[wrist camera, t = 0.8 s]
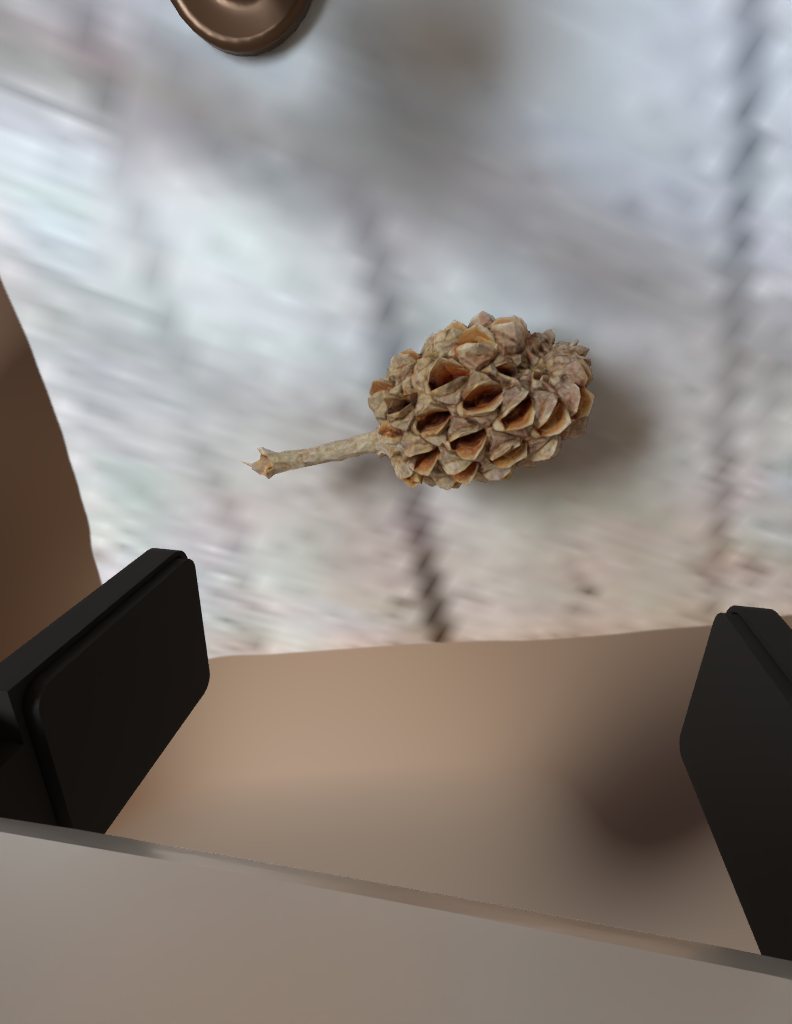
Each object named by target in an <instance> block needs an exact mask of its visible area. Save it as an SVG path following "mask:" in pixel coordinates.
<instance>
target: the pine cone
mask: <svg viewBox="0 0 792 1024" xmlns="http://www.w3.org/2000/svg"><path fill="white" fill-rule="evenodd" d="M554 341H555V334H554V332H553V330H552V329H551V330H547V331H545V332H544V333H543V334H540V333H536V332H535V333H533V334H532V335H531V334H530V331H527V325H526V323H525V322H524V321H523V320H522V318H519V317H517V316H513V317H505V318H498V319H495V318H494V317H493V316H492V315H490V314H488V313H486V312H484V311H482V312H480V313H479V314H477V315H476V316H475V317H473V318H472V319H471V322H470V324H469V326H468V327H466V326H465V325H464V324H463V323H461V322H458V321H456V320H454V321H453V322H452V323H451V324H450V325H449V326H448V327H447V328H446V329H444V330H443V331H439V332H438V333H437V334H434V333H432V334H431V335H430V336H429V337H428V339H427V340H426V342H425V344H424V346H423V348H422V351H421V353H420V354H417V353H416V352H415V351H413V350H412V349H409V350H406V351H404V352H401V353H400V354H399V355H394V357H393V358H392V359H391V363H390V368H388V369H387V374H386V380H381V379H378V380H375V381H373V382H372V384H371V388H370V395H371V396H370V397H369V398H368V404H369V407H370V408H371V409H372V410H373V412H374V413H375V417H376V419H377V421H378V424H377V425H378V426H377V429H376V431H373V432H369V433H366V434H362V435H358V436H355V437H352V438H350V439H345V440H339V441H335V442H331V443H328V444H325V445H321V446H318V447H313V448H309V449H303V450H293V451H284V452H281V453H276V452H273V451H270V450H268V449H265V448H263V447H261V448H257V449H258V450H259V452H260V453H261V459H260V460H259V461H257V462H255V463H253V464H250V463H245V462H243V463H245V464H247V465H249V466H251V467H252V470H254V471H256V472H257V473H258V474H261V475H265V476H266V477H267V478H268V479H269V478H271V477H272V476H273V475H275V474H277V473H281V472H285V471H288V470H292V469H297V468H302V467H307V466H312V465H317V464H321V463H326V462H331V461H342V460H344V459H347V458H349V457H357V456H360V455H363V454H367V453H377V454H378V456H379V457H380V458H382V457H384V456H386V455H387V456H388V457H389V458H390V460H391V461H392V462H391V465H392V466H393V467H394V470H395V473H396V476H397V477H398V478H400V479H403V481H404V482H405V483H406V484H407V485H408V486H409V487H410V488H413V487H415V486H417V485H418V484H422V481H423V482H424V483H425V484H427V485H429V486H431V487H433V486H435V485H438V486H439V487H440V488H443V489H446V490H449V489H451V488H459V487H460V485H461V484H462V483H463V484H467V485H469V484H470V482H471V481H472V479H475V480H478V481H481V482H487V481H488V480H509V479H510V477H511V475H512V472H513V470H514V468H515V466H522V467H532V468H536V466H537V465H538V463H539V462H540V460H541V461H546V460H548V459H551V458H553V457H556V456H557V455H558V453H559V451H560V449H561V440H565V439H566V438H579V437H580V436H581V435H582V434H583V433H585V430H586V425H587V420H588V415H589V413H590V410H591V407H592V404H593V401H594V398H595V395H593V394H592V393H591V392H590V391H588V390H587V389H586V387H587V386H588V384H589V383H590V382H591V381H592V379H593V376H592V370H591V368H590V366H591V359H589V358H586V357H585V356H586V354H587V352H588V350H589V349H588V348H586V347H583V346H581V345H577V343H578V341H579V340H576V341H574V342H571V343H566V342H559V343H557V344H554ZM576 345H577V346H576Z"/></svg>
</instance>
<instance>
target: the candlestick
mask: <svg viewBox="0 0 792 1024" xmlns="http://www.w3.org/2000/svg"><path fill="white" fill-rule="evenodd" d="M171 2H172V4H173V5H174V7H175V8H176V10H177V12H178V13H179V15H180V16H181V18H182V19H183V20H184V21H185V22H186V23H187V24H188V26H189V27H190V28H191V29H192V30H193V31H194V32H195V33H197V34H198V35H199V36H200V37H201V38H203V39H204V40H205V41H206V42H208V43H209V44H210V45H212V46H213V47H215V48H217V49H219V50H221V51H224V52H226V53H229V54H234V55H239V56H252V55H258V54H262V53H265V52H268V51H271V50H272V49H274V48H275V47H277V46H278V45H280V44H282V43H283V42H284V41H285V40H286V39H287V38H288V37H289V36H290V35H291V34H292V33H293V32H294V31H295V30H296V29H297V27H298V26H299V24H300V23H301V21H302V20H303V18H304V17H305V15H306V13H307V11H308V9H309V6H310V4H311V2H312V0H171Z"/></svg>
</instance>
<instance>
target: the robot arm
mask: <svg viewBox="0 0 792 1024" xmlns="http://www.w3.org/2000/svg"><path fill="white" fill-rule="evenodd" d="M209 678H210V672H209V664H208V657H207V649H206V642H205V635H204V627H203V620H202V613H201V605H200V598H199V591H198V583H197V576H196V569H195V564H194V562H193V561H192V560H191V559H188V558H187V556H186V554H185V553H184V552H183V551H179V550H169V549H159V548H151V549H149V550H147V551H146V552H145V553H144V554H142V555H141V556H140V557H138V558H137V559H136V560H134V561H133V562H132V563H130V564H129V565H128V566H126V567H125V568H124V569H123V570H121V571H120V572H119V573H117V574H116V575H115V576H113V577H112V578H111V579H109V580H108V581H107V582H105V583H104V584H103V585H102V586H100V587H99V588H98V589H96V590H95V591H94V592H92V593H91V594H90V595H88V596H87V597H86V598H84V599H83V600H82V601H81V602H79V603H78V604H77V605H75V606H74V607H73V608H71V609H70V610H69V611H67V612H66V613H65V614H63V615H62V616H61V617H60V618H58V619H57V620H56V621H54V622H53V623H52V624H50V625H49V626H48V627H47V628H45V629H44V630H42V631H41V632H40V633H39V634H37V635H36V636H35V637H33V638H32V639H31V640H29V641H28V642H27V643H25V644H24V645H23V646H21V647H20V648H19V649H17V650H16V651H15V652H14V653H12V654H11V655H10V656H8V657H7V658H6V659H5V660H3V661H2V662H0V1024H792V629H791V628H790V627H789V626H788V625H787V624H786V622H785V621H784V620H783V619H782V618H781V617H780V616H779V614H778V613H777V612H775V611H774V610H772V609H765V608H755V607H745V606H735V605H734V606H732V607H730V608H729V609H728V610H727V612H726V613H719V614H717V616H716V617H715V619H714V622H713V625H712V629H711V632H710V636H709V639H708V643H707V646H706V649H705V653H704V657H703V660H702V663H701V666H700V670H699V673H698V677H697V680H696V683H695V687H694V690H693V693H692V697H691V700H690V704H689V707H688V711H687V714H686V718H685V721H684V724H683V728H682V731H681V735H680V753H681V757H682V760H683V762H684V765H685V767H686V769H687V772H688V774H689V777H690V780H691V782H692V784H693V787H694V789H695V792H696V794H697V797H698V799H699V802H700V804H701V807H702V809H703V811H704V814H705V817H706V819H707V821H708V824H709V826H710V829H711V831H712V834H713V836H714V839H715V841H716V844H717V846H718V849H719V851H720V854H721V856H722V858H723V861H724V863H725V866H726V868H727V871H728V873H729V875H730V878H731V881H732V883H733V885H734V888H735V891H736V893H737V895H738V898H739V900H740V903H741V905H742V908H743V910H744V913H745V915H746V918H747V920H748V922H749V925H750V928H751V930H752V932H753V935H754V937H755V940H756V942H757V945H758V947H759V950H760V952H761V955H759V954H754V953H749V952H744V951H740V950H734V949H730V948H725V947H720V946H715V945H710V944H705V943H700V942H694V941H689V940H684V939H678V938H673V937H668V936H662V935H656V934H652V933H646V932H641V931H636V930H630V929H625V928H620V927H614V926H609V925H604V924H598V923H593V922H587V921H582V920H577V919H572V918H566V917H561V916H555V915H550V914H545V913H539V912H534V911H529V910H523V909H518V908H513V907H508V906H502V905H497V904H491V903H485V902H481V901H475V900H470V899H464V898H459V897H453V896H448V895H442V894H437V893H431V892H426V891H420V890H414V889H409V888H404V887H398V886H392V885H387V884H382V883H377V882H371V881H366V880H360V879H354V878H349V877H343V876H337V875H332V874H327V873H321V872H315V871H310V870H305V869H299V868H293V867H288V866H282V865H277V864H271V863H266V862H260V861H254V860H249V859H243V858H237V857H231V856H226V855H220V854H215V853H208V852H203V851H198V850H192V849H186V848H180V847H175V846H169V845H163V844H157V843H151V842H146V841H140V840H135V839H129V838H123V837H118V836H112V835H106V834H105V832H106V831H107V829H108V828H109V827H110V825H111V824H112V823H113V821H114V820H115V818H116V817H117V816H118V814H119V813H120V811H121V810H122V809H123V807H124V806H125V804H126V803H127V801H128V800H129V799H130V797H131V796H132V794H133V793H134V791H135V790H136V789H137V787H138V786H139V785H140V783H141V782H142V780H143V779H144V778H145V776H146V775H147V773H148V772H149V770H150V769H151V767H152V766H153V765H154V763H155V762H156V760H157V759H158V758H159V756H160V755H161V753H162V752H163V751H164V749H165V748H166V746H167V745H168V744H169V742H170V741H171V739H172V738H173V737H174V735H175V734H176V732H177V731H178V730H179V728H180V727H181V725H182V724H183V723H184V721H185V720H186V718H187V717H188V715H189V714H190V713H191V711H192V710H193V708H194V707H195V706H196V704H197V703H198V701H199V700H200V699H201V697H202V696H203V694H204V693H205V691H206V689H207V686H208V683H209Z"/></svg>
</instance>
